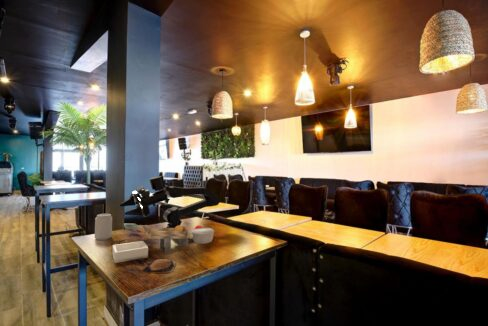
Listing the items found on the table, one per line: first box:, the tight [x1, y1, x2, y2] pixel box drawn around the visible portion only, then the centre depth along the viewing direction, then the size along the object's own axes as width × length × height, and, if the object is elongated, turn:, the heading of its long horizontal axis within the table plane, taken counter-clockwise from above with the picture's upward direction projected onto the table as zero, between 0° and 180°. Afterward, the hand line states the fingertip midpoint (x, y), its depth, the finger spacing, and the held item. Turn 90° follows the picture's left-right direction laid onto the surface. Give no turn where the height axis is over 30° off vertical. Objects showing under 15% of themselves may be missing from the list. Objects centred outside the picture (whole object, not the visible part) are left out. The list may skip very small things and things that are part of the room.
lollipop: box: [192, 211, 210, 230], centre depth 136 cm, size 6×10×12 cm, turn 110°
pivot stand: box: [158, 236, 172, 255], centre depth 107 cm, size 2×11×7 cm, turn 33°
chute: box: [123, 222, 189, 247], centre depth 111 cm, size 24×24×6 cm
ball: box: [174, 225, 184, 231], centre depth 110 cm, size 4×4×4 cm
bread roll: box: [142, 258, 177, 274], centre depth 88 cm, size 11×9×4 cm
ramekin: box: [191, 227, 215, 245], centre depth 121 cm, size 11×11×5 cm
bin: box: [112, 240, 149, 264], centre depth 99 cm, size 12×10×4 cm
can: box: [94, 213, 113, 241], centre depth 122 cm, size 8×8×12 cm
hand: (122, 209), depth 115 cm, fingers open, 9 cm apart
